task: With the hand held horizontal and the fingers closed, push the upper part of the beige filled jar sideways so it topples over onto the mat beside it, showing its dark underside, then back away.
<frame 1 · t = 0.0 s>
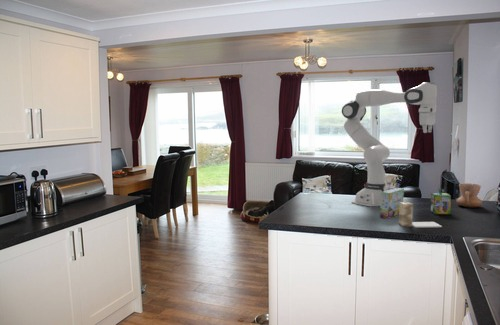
hand: (427, 132, 242), 48 cm above the countertop, tool pointing down, fingers open, 8 cm apart
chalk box: (440, 213, 241), on the countertop
ceramic jug: (468, 206, 257), on the countertop
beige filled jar: (405, 225, 213), on the countertop
snack box: (391, 215, 237), on the countertop
mat: (424, 225, 213), on the countertop
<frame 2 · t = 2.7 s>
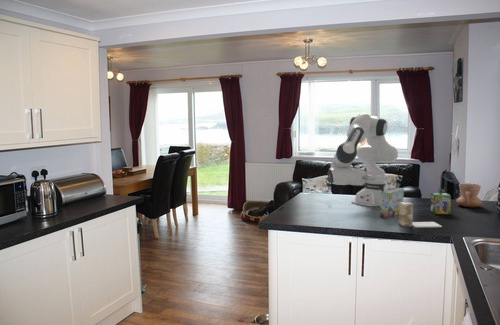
hand: (385, 177, 210), 26 cm above the countertop, tool horizontal, fingers open, 8 cm apart
nothing on the countertop moved.
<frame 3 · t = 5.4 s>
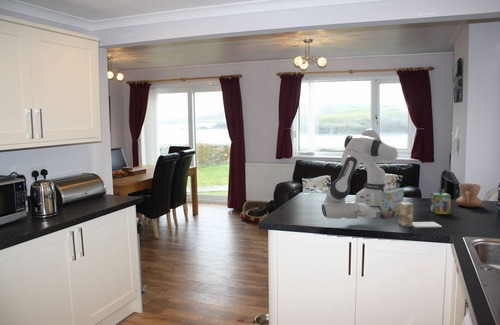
hand: (379, 210, 212), 8 cm above the countertop, tool horizontal, fingers closed
nothing on the countertop moved.
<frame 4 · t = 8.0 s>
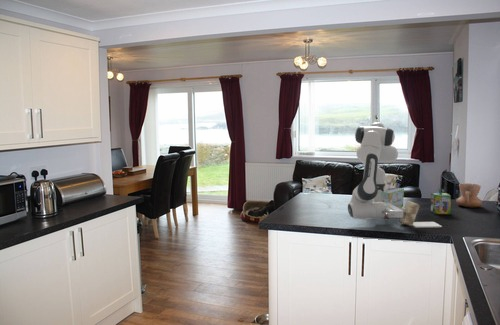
hand: (405, 209, 212), 8 cm above the countertop, tool horizontal, fingers closed
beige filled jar: (405, 224, 213), point 1 cm above the countertop, tilted 18°
everything else where it was.
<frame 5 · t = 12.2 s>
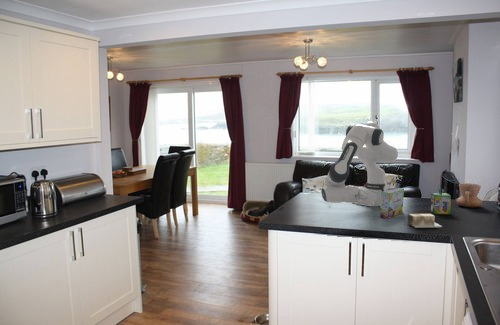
hand: (379, 193, 211), 17 cm above the countertop, tool horizontal, fingers closed
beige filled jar: (409, 219, 213), point 3 cm above the countertop, tilted 90°, touching mat
everything else where it was.
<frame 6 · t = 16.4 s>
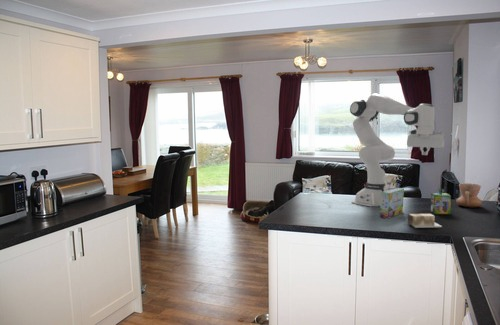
hand: (424, 154, 236), 35 cm above the countertop, tool pointing down, fingers closed
nothing on the countertop moved.
at the end: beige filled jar tilted 90°; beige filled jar 8.1 cm from the mat (horizontally) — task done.
